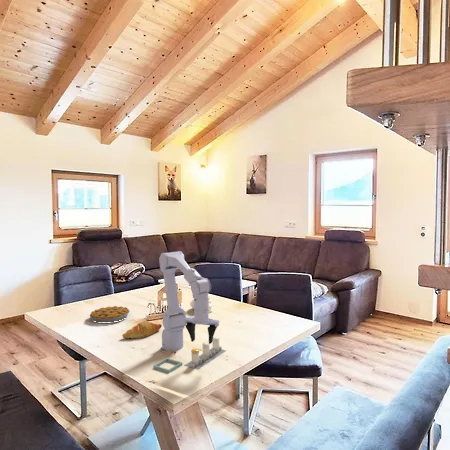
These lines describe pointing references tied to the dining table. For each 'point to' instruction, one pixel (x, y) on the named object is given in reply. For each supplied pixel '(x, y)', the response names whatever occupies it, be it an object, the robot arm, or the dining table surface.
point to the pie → (109, 314)
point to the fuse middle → (206, 350)
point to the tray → (165, 368)
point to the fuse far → (216, 344)
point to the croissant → (142, 330)
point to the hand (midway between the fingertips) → (201, 341)
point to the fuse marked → (195, 356)
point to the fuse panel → (203, 359)
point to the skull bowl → (208, 305)
